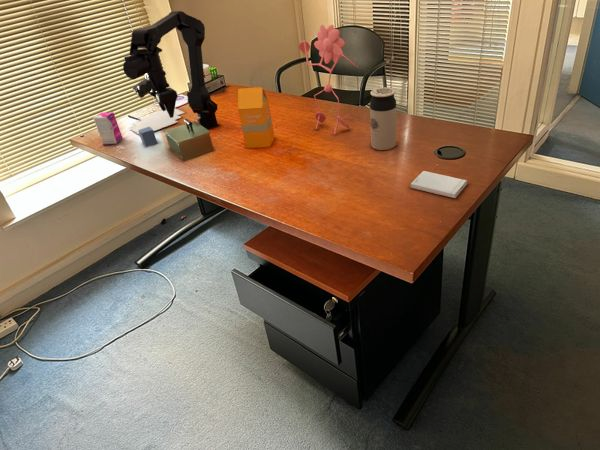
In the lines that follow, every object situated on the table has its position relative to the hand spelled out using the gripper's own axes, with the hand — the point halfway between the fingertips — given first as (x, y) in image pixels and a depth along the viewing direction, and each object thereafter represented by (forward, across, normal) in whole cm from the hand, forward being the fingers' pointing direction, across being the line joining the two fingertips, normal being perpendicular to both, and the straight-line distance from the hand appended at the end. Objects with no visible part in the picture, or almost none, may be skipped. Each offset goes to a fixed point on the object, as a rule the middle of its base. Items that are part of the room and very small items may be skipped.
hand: (167, 114), depth 156 cm
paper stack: (+14, -36, +2) cm, 39 cm away
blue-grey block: (+13, -14, -7) cm, 20 cm away
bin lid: (+7, +5, +4) cm, 9 cm away
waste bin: (+13, +5, +3) cm, 15 cm away
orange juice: (+14, +19, +25) cm, 34 cm away
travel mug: (+14, +53, +54) cm, 76 cm away
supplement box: (+14, -27, -19) cm, 36 cm away
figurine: (+14, +28, +53) cm, 61 cm away
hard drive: (+14, +83, +47) cm, 96 cm away
